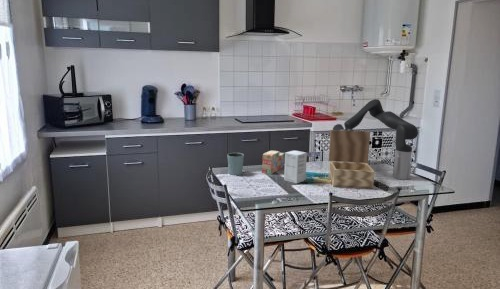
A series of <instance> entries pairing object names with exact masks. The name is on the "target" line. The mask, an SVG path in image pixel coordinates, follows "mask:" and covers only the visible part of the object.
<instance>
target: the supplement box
mask: <svg viewBox="0 0 500 289" xmlns="http://www.w3.org/2000/svg"><path fill="white" fill-rule="evenodd" d="M284 153H285V157H284V158H285V161H284V172H283V173H284V175H283V179H284V181H285V182H290V183H293V184H299V183H302V182H305V181H306V177H307V176H306V175H307V174H306V173H307V158H308V157H307V156H308V153H307V152H304V151H300V150H290V151H287V152H284ZM304 180H305V181H304Z"/></svg>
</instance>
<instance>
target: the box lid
mask: <svg viewBox="0 0 500 289" xmlns="http://www.w3.org/2000/svg"><path fill="white" fill-rule="evenodd" d="M370 137H371V131H365V130H364V131H360V130H354V129H352V130H351V129H348V131H341V130H333V129H330V136H329V146H328V147H329V150H328V152H329V153H328V162H351V163H367V164H369V153H370V152H369V151H370V150H369V149H370Z"/></svg>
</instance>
